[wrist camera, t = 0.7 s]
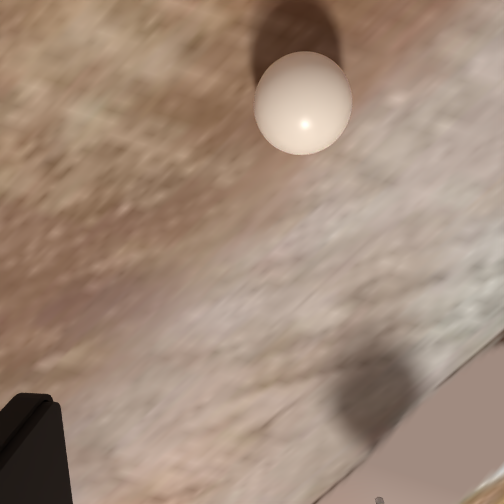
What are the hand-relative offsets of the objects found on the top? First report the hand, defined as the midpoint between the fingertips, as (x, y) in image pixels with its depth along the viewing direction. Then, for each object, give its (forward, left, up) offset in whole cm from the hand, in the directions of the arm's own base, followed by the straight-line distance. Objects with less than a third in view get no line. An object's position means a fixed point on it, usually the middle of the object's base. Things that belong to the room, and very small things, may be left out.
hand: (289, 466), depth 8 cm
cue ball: (+3, -7, -19) cm, 20 cm away
